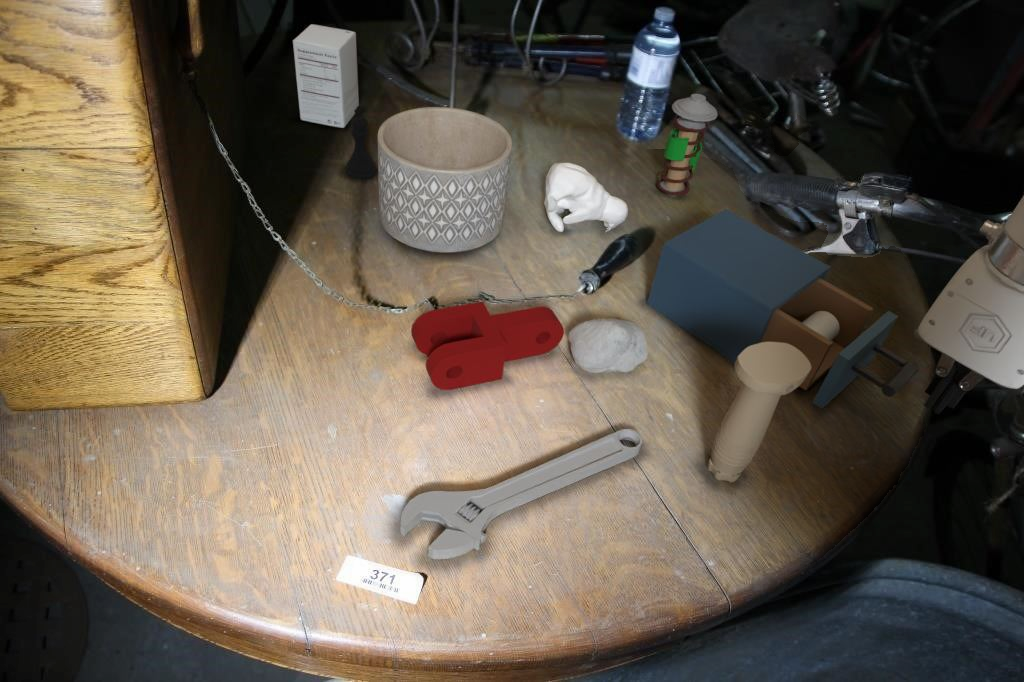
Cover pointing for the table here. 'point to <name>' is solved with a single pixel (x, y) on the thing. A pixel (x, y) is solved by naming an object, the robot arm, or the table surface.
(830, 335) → the white cylinder
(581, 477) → the adjustable wrench
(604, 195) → the white figurine
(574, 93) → the table surface
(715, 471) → the handle
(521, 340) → the mechanical linkage
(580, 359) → the pebble
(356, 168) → the chess piece
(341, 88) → the white packaging box
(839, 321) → the drawer
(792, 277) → the cabinet
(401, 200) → the planter
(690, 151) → the shock absorber
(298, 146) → the table surface
